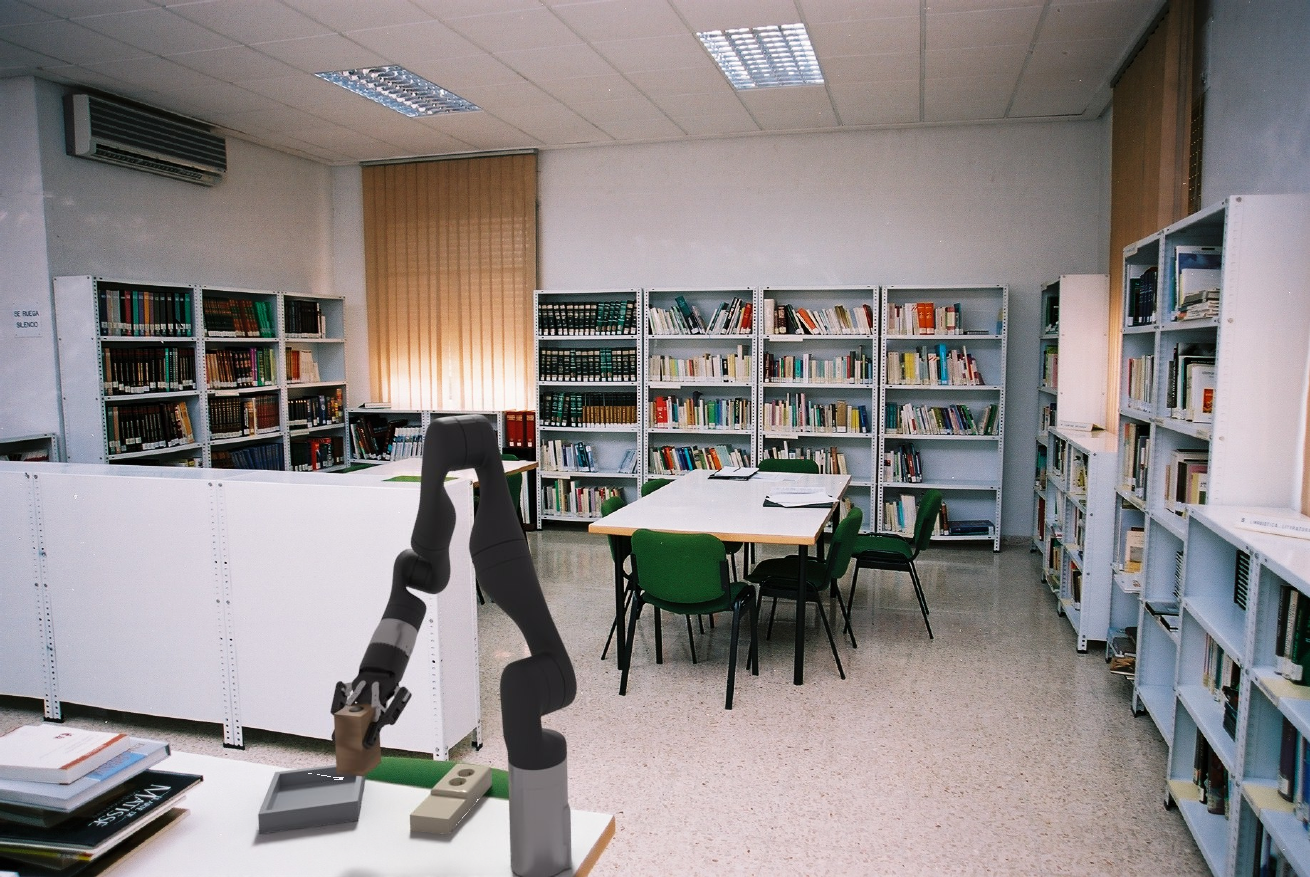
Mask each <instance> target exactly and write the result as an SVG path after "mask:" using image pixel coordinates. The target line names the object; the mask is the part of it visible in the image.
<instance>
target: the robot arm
mask: <svg viewBox="0 0 1310 877" xmlns="http://www.w3.org/2000/svg"><path fill="white" fill-rule="evenodd" d="M422 445H423V447H422V448H423V449H422V458H421V460H422V462H421V473H420V487H419V488H420V490H419V492H420V493H419V501H418V502H419V503H418V510H417V513H416V519H415V521H414V524H413V530H412V533H411V537H410V546H411V548H406V549H404V550H402V551H400V553H399V554H398V555H397V556H396V558H395V560H394V564H393V569H392V578H391V579H392V580H391V581H392V582H391V590H390V595H389V598H388V602H387V604H386V607H385V610H384V612H383V613H382V616H381V619H380V621H379V623H378V624H377V626H376V628H375V629H374V632H373V634H372V636H371V638H370V640H369V643H368V645H367V647H366V650H365V652H364V655H363V657H362V659H361V662H360V664H359V668H358V674H357V676H355V678H354V679H353V680H352V681H351V682H346V683H344V682H343V681H341V680H339V681H337V683H336V684H335V687H334V688H335V689H334V692H333V699H332V701H331V706H330V707H331V708H330V712H329V713H330V714H331V715H332V716H333V717H334V714H335V713H336V712H338V711H340V710H341V709H343V708H345V707H346V706H348V705H349V706H351V705H354V704H355V703H361V704H372V705H371V707H372V708H375V710H374V713H373V715H372V721H373V722H372V723H370V724H369V726H368V729H367V731H366V734H365V736H364V739H363V741H362V746H363V747H365V748H366V749H371V748H372V746H374V745H375V743H376V741H377V739H378V736H379V734H380V735H381V731H382V729H383V728H384V727H385V726H387V725H390V726H393V725H395V724H396V722H397V721H398V719H399V717H401V714H402V713H403V711H404V710H405V707H406V706H407V705H408V703H409V702H410V700H411V698H412V695H413V694H412V692H411V691H410V690H409V689H408V688H407V687H406V686H400V683H401V681H402V679H403V677H404V674H405V672H406V670H407V667H408V664H409V662H410V659H411V656H412V654H413V651H414V649H415V646H416V641H417V637H418V635H419V632H420V629H421V627H422V624H423V621H424V619H425V616H426V614H427V609H428V608H427V604H426V603H425V602H424V601H423V599H421V598H420V597H418V596H416V595H415V594H413V593H412V592H410V591H409V590H408V588H409V589H412V590H416V591H419V592H422V593H425V594H429V595H438V594H440V593H441V592H443V591H444V590H445V589H446V588H447V586H448V584H449V582H450V578H451V560H450V545H451V541H452V538H453V534H454V531H455V528H456V522H457V512H456V507H455V506H454V503H453V501H452V500H451V497H450V496H449V494H448V492H447V490H446V487H445V480H446V478H447V475H448V473H450V472H457V471H463V470H470V469H471V470H472V469H473V470H474V471H475V473H476V478H477V482H478V488H479V502H478V507H477V510H476V514H475V517H474V521H473V525H472V527H471V531H470V536H469V539H468V540H469V541H468V542H469V543H468V549H469V554H470V558H471V561H472V565H473V568H474V571H475V575H476V578H477V580H478V583H479V586H480V588H481V589H482V591H483V592H484V593H485V595H486V596H487V597H488V598H489V599H490V600H491V601H492V602H493V603H495V605H496V606H498V608H499V609H500V610H502V611H503V612H504V613H505V614H506V615H507V616H508V618H510V619H511V620H512V621H513V622H514V624H515V625H516V626H517V627H518V628H519V630H520V633H521V634H522V635H523V638H524V639H525V642H526V644H527V647H528V650H529V653H530V656H527V657H524V658H520V659H517V660H515V661H511V662H509V663H508V664H506V666H505V667H504V668H503V669H502V673H501V677H500V682H499V697H500V698H499V699H500V709H501V721H502V722H501V723H502V734H503V735H502V736H503V740H504V744H505V746H506V751H507V752H506V753H507V769H508V770H507V771H508V772H507V773H508V774H507V778H508V807H509V808H508V810H509V811H508V812H509V814H508V816H509V817H508V819H509V844H510V845H509V846H510V847H509V850H510V851H509V857H510V868H511V870H512V871H513V872H514V874H516V875H517V876H519V877H553V876H555V875H557V874H560V873H561V872H562V871H564V870H567V869H571V868H572V867H573V866H572V862H573V860H572V859H573V858H572V857H573V856H572V819H571V818H572V816H571V814H572V811H571V807H570V803H569V792H568V791H569V789H568V788H569V785H568V746H567V745H568V744H567V739H566V737H565V735H564V734H562V733H561V732H559V731H557V730H556V729H555V730H554V729H552V728H543V724H542V717H544V716H546V715H549V714H551V713H554V712H556V711H559V710H562V709H564V708H567V707H569V706H570V705H572V704H573V702H574V700H575V698H576V696H577V691H578V686H577V685H578V684H577V678H576V673H575V670H574V667H573V663H572V660H571V658H570V656H569V653H568V651H567V648H566V646H565V644H564V642H563V640H562V638H561V635H560V633H559V630H558V629H557V626H556V624H555V621H554V618H553V617H552V615H551V612H550V609H549V607H548V604H547V601H546V598H545V595H544V593H543V590H542V587H541V583H540V581H539V578H538V576H537V572H536V569H535V566H534V561H533V558H532V555H531V552H530V548H529V546H528V544H527V539H526V537H525V534H524V531H523V528H522V527H521V524H520V520H519V518H518V515H517V512H516V508H515V505H514V501H513V498H512V495H511V493H510V488H509V484H508V480H507V477H506V471H505V467H504V462H503V459H502V453H501V450H500V446H499V442H498V439H497V435H496V432H495V429H494V427H493V425H492V423H491V421H490V420H489V419H488V417H486V416H484V415H483V414H465V415H464V414H463V415H456V416H455V415H452V416H445V417H444V416H443V417H439V418H436V419H435V418H434V419H433V420H432V421H431V422H430V423H429V424H428V426H427V429H426V431H425V434H424V440H423V444H422ZM351 692H352V693H351ZM393 697H394V698H393ZM392 698H393V699H392ZM391 699H392V701H391V702H390V704H389V705H388V702H389V700H391ZM331 742H332V743H333V745H335V728H334V729H333V731H332V733H331Z"/></svg>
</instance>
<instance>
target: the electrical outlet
mask: <svg viewBox="0 0 1310 877" xmlns="http://www.w3.org/2000/svg"><path fill="white" fill-rule="evenodd" d="M492 779H493V778H492V767H491V766H489V765H480V764H469V763H456V764H455V765H454V766H453V767H452V768H451V769H450V770H449V771H448V772H447V773H446V774H445V775H444V776H443V777H442V778H441V779H440V780H439V781H438V782H437V783H436V784H434V786H433V787H432V788H431V789H430V794H429V795H428V796H427V797H426V798H425V799H424V800H423V801H422V802H421V803H420V804H419V805H418V806H417V807H416V808H415V809H414V810H413V811H412V812H411V813H410V814H409V828H410V829H409V831H414V832H421V831H422V832H423V831H424V833H430V832H432V834H439V833H443V834H442V835H448V834H449V833H450V832H451V831H452V830H453V831H454V829H455V828H456V827H457V826H456V824H458V822H459V821H460V820H461V819H462V817H463V816H464V815H465V814H466V813H467V812H468V811H469V809H470V808H471V807H472V806H473V805H474V804H475V803H476V801H477V799H479V798H480V799H481V798H483V796H484V795H485V794H486V793H487V791H488V790H489V789H490V788H491V787H492V786H493V785H492V783H493V782H492V781H493V780H492ZM480 799H479V800H480ZM476 804H477V803H476ZM476 804H475V805H476ZM475 805H474V806H475ZM474 806H473V807H474ZM473 807H472V808H473ZM469 812H470V811H469ZM469 812H468V813H469ZM468 813H467V814H468ZM467 814H466V815H467ZM462 820H463V819H462ZM462 820H461V821H462ZM461 821H460V822H461ZM460 822H459V823H460ZM458 825H459V824H458ZM455 826H456V827H455ZM454 827H455V828H454ZM453 831H452V832H453ZM452 832H451V833H452ZM451 833H450V834H451ZM450 834H449V835H450Z"/></svg>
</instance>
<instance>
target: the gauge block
mask: <svg viewBox="0 0 1310 877" xmlns="http://www.w3.org/2000/svg"><path fill="white" fill-rule="evenodd" d="M371 705H372V704H361V703H357V702H355V704H354V705H351V706H349V705H348V706H346V707H345V708H343V709H341V710H340V711H338V712H336V713H335V714H334V716H333V722H334V724H333V725H334V729H335V744H334V745H335V760H336V761H335V762H336V763H335V765H336V768H337V774H345V775H354V776H362V777H364V776H365V777H366V775H368V774H369V773H370V772H371V771H373V770H374V769H376V768H377V767H378V766H379V765H381V764H382V755H381V754H382V753H381V752H382V751H381V733H380V734H379V736H378V739H377V741H376V743H375V745H374V746H372V748H371V749H366V748H365V747H363V746H362V741H363V739H364V736H365V734H366V731H367V729H368V726H369V724H370V723H372V722H373V721H372V715H373V713H374V710H375V708H372V707H371Z"/></svg>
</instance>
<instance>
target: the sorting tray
mask: <svg viewBox="0 0 1310 877" xmlns="http://www.w3.org/2000/svg"><path fill="white" fill-rule="evenodd" d="M308 773H312V774H308ZM317 774H320V775H317ZM321 775H327V776H331V777H327V776H321ZM333 777H344V778H343V780H334V779H339V778H333ZM365 783H366V775H365V776H364V777H362V776H354V775H345V774H337V768H336V764H331V765H323V766H314V767H308V768H300V769H299V768H298V769H291V770H283V771H282V770H281V771H275V772H274V774H273V776H272V779H271V781H270V784H269V786H268V789H267V791H266V794H265V796H264V798H263V802H262V803H261V806H260V809H259V811H258V813H257V818H258V819H257V820H258V834H259V835H264V834H270V833H276V832H283V831H290V830H297V829H298V830H299V829H305V828H306V829H307V828H313V827H320V826H326V825H335V824H341V823H348V822H355V821H359V820H360V813H361V808H362V807H361V806H362V802H361V801H363V795H364V790H363V789H365Z"/></svg>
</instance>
